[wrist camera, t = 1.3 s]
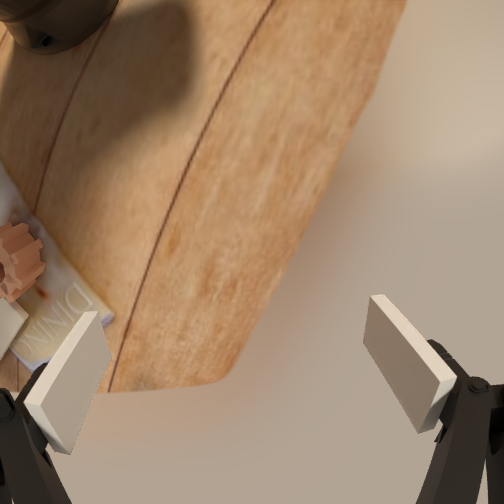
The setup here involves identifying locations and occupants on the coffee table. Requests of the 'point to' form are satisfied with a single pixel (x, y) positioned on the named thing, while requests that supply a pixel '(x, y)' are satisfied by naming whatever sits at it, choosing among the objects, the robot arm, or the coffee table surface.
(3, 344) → the gear board
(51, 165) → the coffee table surface
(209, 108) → the coffee table surface
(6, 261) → the gear
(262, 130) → the coffee table surface
